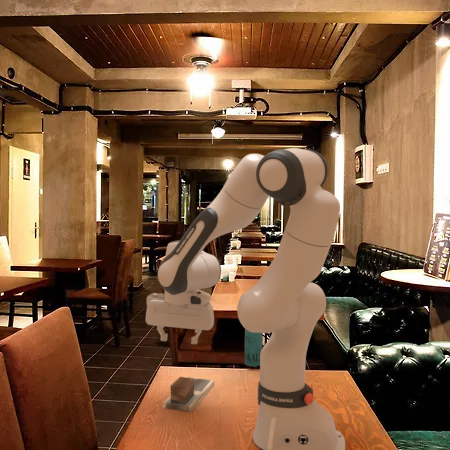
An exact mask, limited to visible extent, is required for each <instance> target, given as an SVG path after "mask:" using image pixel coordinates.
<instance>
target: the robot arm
mask: <svg viewBox="0 0 450 450" xmlns="http://www.w3.org/2000/svg"><path fill="white" fill-rule="evenodd" d="M329 170H330V169H329V164H328V162H327V159H326V157H324V156H323V155H322V154H321V153H319V152H318V151H316V150H313V149H308V148H307V149H306V148H305V149H304V148H299V147H298V148H297V147H290V148H283V149H281V148H280V149H276V150H273V151H270V152H268V153H267V154H266V155H263V154H261V153H248V154H246V155H245V156H244V157H243V158H241V160H240V161H239V162H238V163H237V165H236V166H235V168H234V169H233V170H232V172H231V173H230V175H229V177H228V178H227V180H226V181H225V183H224V184H223V187H222V189H220V192H219V193H218V194H217V196H216V197H215V198H214V199H213V200H212V202H210V203H209V205H208V206H206V207H205V209H203V210H202V211H201V212H200V213H199V214H198V215H197V216H196V217H195V219H194V220H193V221H192V222H191V224H190V225H189V226H188V228H187V229H186V231H185V232H184V233H183V234H182V235H183V236H182V237H181V238H180V239H179V240H178V239H177V240H174V241H173V240H172V241H170V242H169V243H168V244H167V246H166V252H165V257H164V258H162V260H161V261H160V264H159V266H158V268H157V272H156V273H157V274H156V276H157V282H158V284H159V285H160V287H161V288H162V289H163V290H164V293H155V292H152V293H150V294H148V295H147V297H146V312H145V323H146V324H147V325H149V326H156V330H157V332H158V333H159V335H160V342H161V341H162V342H167V341H168V333H165V331H164V328H165V327H169V328H178V329H179V328H180V329H188V330H189V329H191V330H194V333H195V336H193V335H192V337H191V339H190V341H191V342H190V343H191V345H197V344H198V343H199V336H200V334H201V333H202V331H210V330H211V329H212V328H213V327H214V325H215V314H214V308H213V305H212V303H211V302H210V301H211V300H212V296H211V294H210V293H209V292H206V291H203V290H201V289H207V288H211V287H214V286H216V285H217V284H218V283H219V281H220V279H221V277H222V276H221V275H222V267H221V263H220V261H219V259H218V258H217V257H216V256H215V255H214V254H210V253H207V252H205V251H204V249H205V247H206V246H207V245H208V244H209V243H210V242H212V241H213V240H215V239H217V238H219V237H221V236H225V235H227V234H229V233H232V232H236V231H240V230H242V229H244V228H247V227H248V226H249V225H250V224H251V223H253V221H255V219H256V218H257V217H258V215H259V214H260V212H261V210H262V209H263V208H264V205H265V204H266V202H267V200H268V199H269V198H272V199H274V200H275V201H276V202H277V203H279V204H280V205H281V206H283V207H289V209H290V211H289V212H290V213H289V217H288V219H287V223H286V226H285V229H284V232H283V235H282V237H281V240H280V243H279V245H278V248H277V251H276V254H275V256H274V258H273V259H272V261H271V263H269V264H270V265H269V266H268V267H267V269H266V270H265V272H264V273H263V275H262V276H261V277H260V278H259V279H258V280H257V282H255V284H254V285H253V286H252V287H251V288H249V289H248V290H246V292H244V293H243V294H242V295H241V296H240V298H239V300H238V302H237V307H236V310H237V311H236V312H237V313H236V314H237V318H238V320H239V322H240V324H241V325H242V327H243V328H244V329H246V330H248V331H250V332H254V333H262V334H271V335H270V337H269V339H268V340H267V342H266V343H265V344H264V345H263V346H262V350H261V354H260V365H259V381H258V383H257V384H258V385H257V394H256V395H257V405H258V412H257V419H256V423H255V427H254V431H253V433H252V441H253V442H254V444H255V445H256V446H257V447H258V448H259V449H262V450H347V449H346V447H347V446H346V438H345V437H344V435H343V434H342V432H340V430H337V428H336V425H335V424H336V423H335V420H334V417H333V415H331V413H330V412H329V411H327V410H326V409H325V408H324V407H323V406H321V405H320V403H318V402H316V401H315V399H314V398H315V397H314V386H313V384H311V385H310V386H309V384H307V383H306V360H307V359H306V358H307V352H308V347H309V344H310V340H311V337H312V334H313V331H314V329H315V327H316V325H317V323H318V322H319V320H320V318H321V317H322V316H323V315H324V313H325V311H326V309H327V308H326V307H327V298H326V295H325V292H324V290H323V288H321V286H319V285H318V284H316V283H314V282H313V281H314V280H315V279H316V278H317V277H318V276H319V275H320V274H321V272H322V269H323V267H324V264H325V261H326V259H327V256H328V254H329V251H330V248H331V246H332V243H333V240H334V238H335V235H336V234H335V233H336V232H337V227H338V222H339V218H340V213H341V205H340V204H341V203H340V201H339V199H338V198H337V197H336V196H335V195H334V194H333V193H331V192H330V191H328V190H325V189H324V188H322V187H323V186H324V185H325V184H326V182H327V180H328V178H329V173H330V172H329Z"/></svg>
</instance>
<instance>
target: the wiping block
mask: <svg viewBox="0 0 450 450" xmlns="http://www.w3.org/2000/svg"><path fill="white" fill-rule="evenodd" d="M194 378H195V377H192V378H188V377H184V376H179V377H178V378H177V379H176V380H175V381H174V382H173V383H172V384H170V395H171V403H175V404H182V405H186V404H187V402H188V401H189V400H190V399H191V398H192V397H193V396H194Z"/></svg>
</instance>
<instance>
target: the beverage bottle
mask: <svg viewBox="0 0 450 450" xmlns="http://www.w3.org/2000/svg"><path fill="white" fill-rule="evenodd" d="M244 329H245V328H244ZM263 347H264V345H263V333H254V332H250V331H248V330H246V329H245V330H244V354H243V355H244V356H243V357H244V359H243V360H244V364H245V365H246V366H250V367H260V354H261V350H262V348H263Z"/></svg>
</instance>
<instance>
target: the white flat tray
mask: <svg viewBox="0 0 450 450" xmlns="http://www.w3.org/2000/svg"><path fill="white" fill-rule="evenodd" d="M187 378H194V396H193V397H192V398H191V399H190V400H189V401H188V402H187V404H186V405H182V404H175V403H171V394H169V396H168V397H167V398H165V400H164V401H163V402H162V409H168V410H176V411H182V412H189V413H193V412H194V411H195V409H196V408H197V407H198V405H199V404H200V403H201V401H203V399H204V398H205V397H206V396H207V394H208V393H209V392H210V391H211V389H212V388H213V387H214V386H215V379H209V378H208V379H207V378H199V377H191V376H187Z"/></svg>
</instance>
